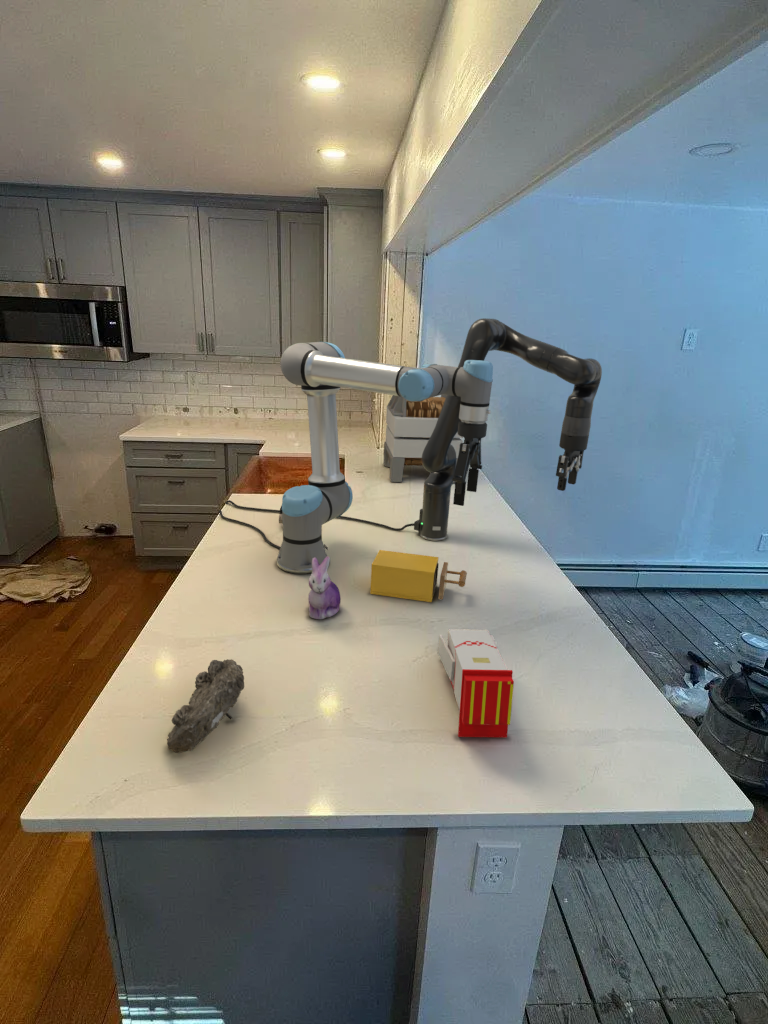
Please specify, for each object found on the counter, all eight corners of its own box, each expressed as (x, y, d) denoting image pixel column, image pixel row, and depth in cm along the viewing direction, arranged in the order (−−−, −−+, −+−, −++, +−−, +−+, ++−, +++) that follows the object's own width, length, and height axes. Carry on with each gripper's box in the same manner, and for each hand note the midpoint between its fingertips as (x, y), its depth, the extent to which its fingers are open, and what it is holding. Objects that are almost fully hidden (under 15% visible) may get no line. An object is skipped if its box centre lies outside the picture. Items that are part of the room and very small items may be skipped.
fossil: (192, 660, 117) (244, 628, 112) (224, 691, 120) (276, 661, 115) (142, 746, 98) (202, 712, 93) (182, 779, 101) (242, 748, 96)
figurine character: (297, 533, 199) (302, 514, 212) (296, 514, 196) (301, 496, 209) (278, 533, 199) (284, 514, 212) (277, 514, 195) (283, 495, 209)
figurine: (313, 624, 141) (313, 569, 135) (299, 605, 149) (299, 553, 144) (348, 616, 145) (349, 563, 140) (333, 598, 153) (333, 547, 148)
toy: (488, 613, 130) (523, 677, 101) (484, 667, 133) (517, 744, 104) (435, 612, 130) (455, 676, 101) (432, 666, 133) (451, 743, 103)
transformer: (382, 463, 289) (386, 382, 275) (445, 464, 293) (451, 384, 279) (390, 482, 257) (394, 392, 243) (460, 483, 261) (468, 394, 247)
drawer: (465, 587, 161) (467, 564, 159) (463, 602, 153) (465, 578, 150) (391, 577, 165) (392, 555, 163) (385, 591, 157) (386, 568, 154)
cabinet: (436, 585, 164) (438, 557, 161) (431, 602, 154) (434, 572, 151) (378, 577, 167) (379, 549, 164) (370, 593, 157) (371, 564, 154)
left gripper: (475, 431, 137) (466, 513, 144) (497, 415, 159) (488, 488, 166) (445, 427, 139) (438, 508, 147) (471, 412, 161) (464, 484, 168)
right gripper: (571, 426, 167) (562, 479, 172) (553, 433, 156) (544, 489, 161) (596, 430, 163) (587, 484, 168) (579, 437, 152) (570, 495, 157)
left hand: (465, 497), depth 156 cm, fingers open, 13 cm apart
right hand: (566, 486), depth 165 cm, fingers open, 8 cm apart
